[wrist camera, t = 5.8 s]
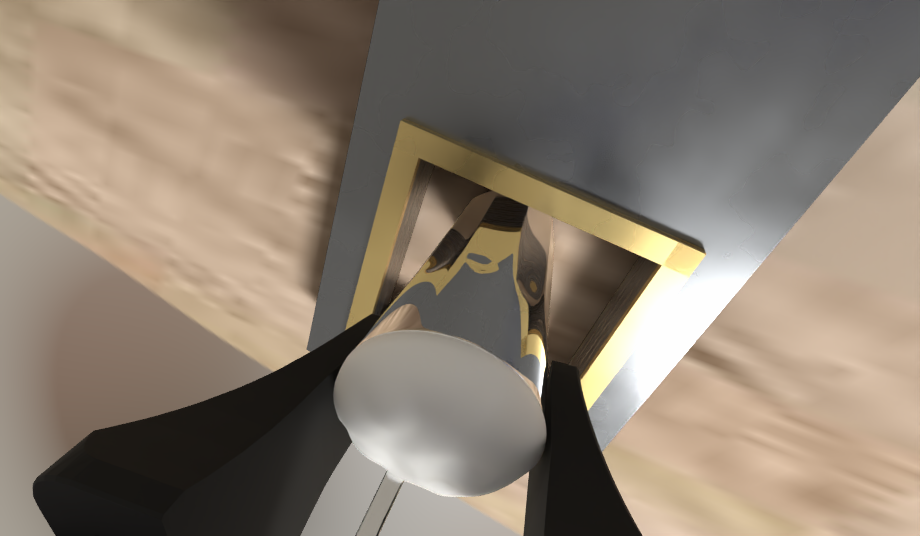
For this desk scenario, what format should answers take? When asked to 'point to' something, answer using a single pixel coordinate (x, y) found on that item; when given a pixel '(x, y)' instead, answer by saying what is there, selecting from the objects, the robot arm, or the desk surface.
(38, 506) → the robot arm
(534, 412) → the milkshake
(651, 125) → the grey board with holes
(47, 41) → the desk surface
